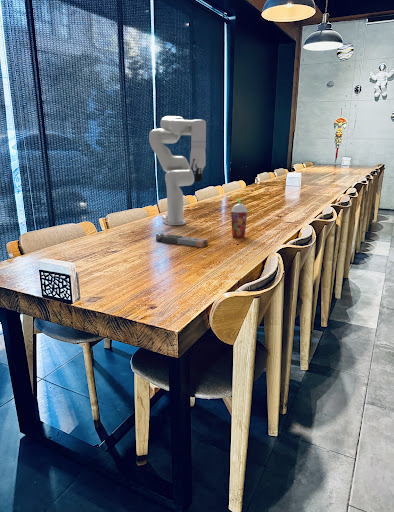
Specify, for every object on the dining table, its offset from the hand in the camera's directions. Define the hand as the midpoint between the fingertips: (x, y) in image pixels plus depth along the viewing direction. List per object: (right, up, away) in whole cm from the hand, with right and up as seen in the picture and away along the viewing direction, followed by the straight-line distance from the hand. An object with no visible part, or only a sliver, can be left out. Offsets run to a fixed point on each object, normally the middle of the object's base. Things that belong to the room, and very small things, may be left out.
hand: (198, 181), depth 199 cm
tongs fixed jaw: (-7, -34, -20) cm, 40 cm away
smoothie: (+21, -30, -4) cm, 36 cm away
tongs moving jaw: (-9, -33, -17) cm, 38 cm away
